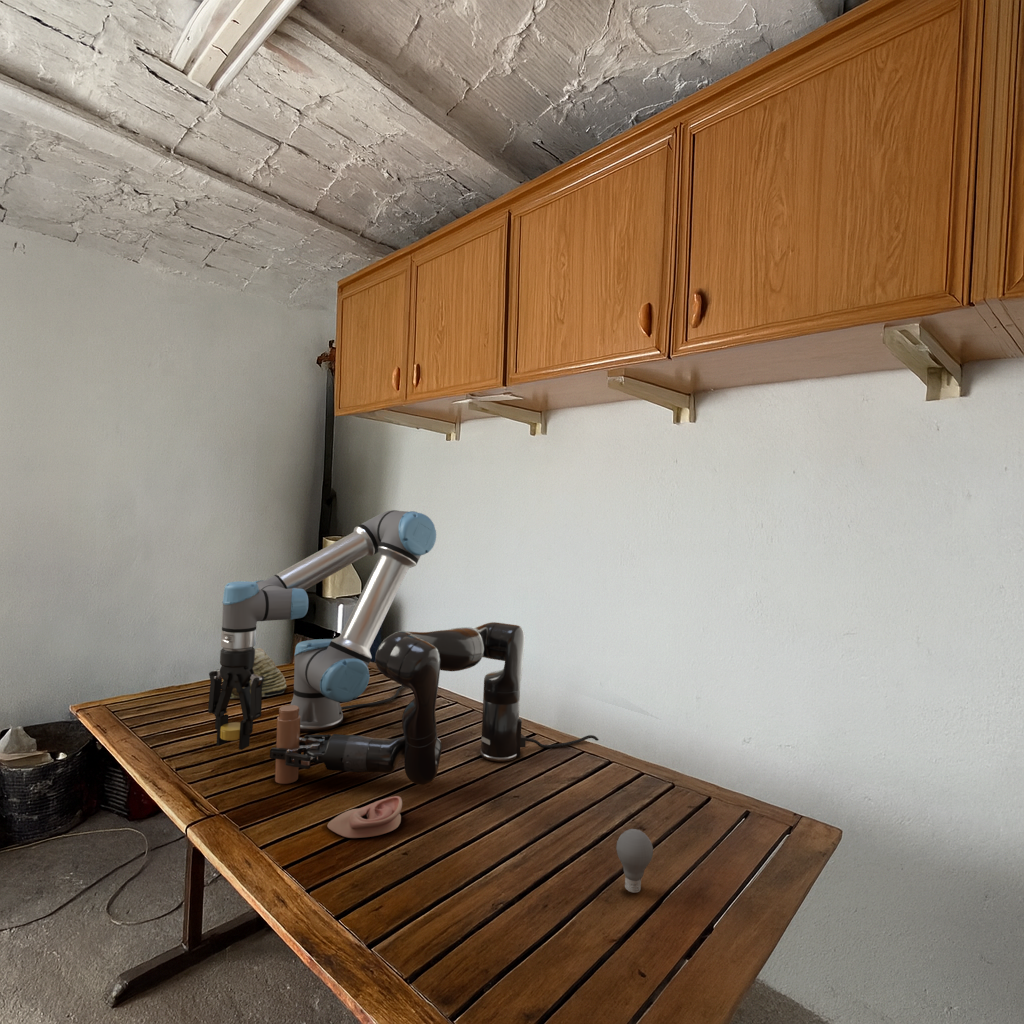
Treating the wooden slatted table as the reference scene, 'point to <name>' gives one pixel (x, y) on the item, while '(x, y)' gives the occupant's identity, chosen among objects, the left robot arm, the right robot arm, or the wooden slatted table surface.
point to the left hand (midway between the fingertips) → (232, 745)
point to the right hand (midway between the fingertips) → (276, 748)
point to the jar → (287, 742)
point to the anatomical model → (369, 819)
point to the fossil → (266, 675)
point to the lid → (230, 731)
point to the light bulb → (634, 857)
